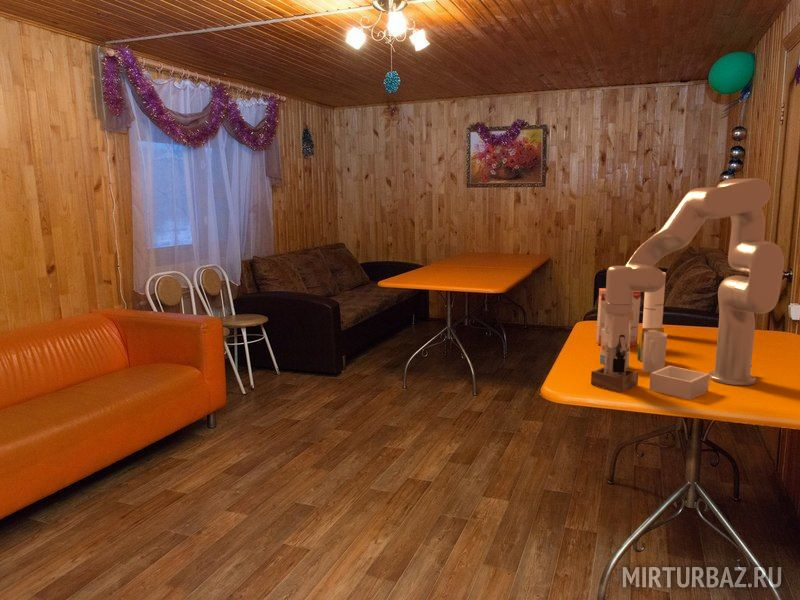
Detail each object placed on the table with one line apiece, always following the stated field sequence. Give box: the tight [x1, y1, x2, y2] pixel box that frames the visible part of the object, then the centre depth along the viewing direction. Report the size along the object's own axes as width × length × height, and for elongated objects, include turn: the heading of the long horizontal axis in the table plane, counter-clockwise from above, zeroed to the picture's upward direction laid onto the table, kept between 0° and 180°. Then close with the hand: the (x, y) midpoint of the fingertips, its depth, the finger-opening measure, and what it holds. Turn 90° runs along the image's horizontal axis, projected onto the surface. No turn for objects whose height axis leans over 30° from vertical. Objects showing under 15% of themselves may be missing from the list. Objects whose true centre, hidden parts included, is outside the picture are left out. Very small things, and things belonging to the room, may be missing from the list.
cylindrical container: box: [641, 271, 667, 332], centre depth 242 cm, size 7×7×25 cm
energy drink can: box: [603, 340, 627, 377], centre depth 180 cm, size 6×6×15 cm
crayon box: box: [637, 327, 665, 363], centre depth 206 cm, size 7×3×12 cm, turn 89°
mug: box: [642, 332, 668, 373], centre depth 193 cm, size 10×7×12 cm, turn 146°
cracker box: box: [595, 287, 642, 348], centre depth 227 cm, size 14×6×21 cm, turn 81°
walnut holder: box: [590, 366, 639, 393], centre depth 181 cm, size 10×10×4 cm
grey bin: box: [648, 365, 710, 401], centre depth 175 cm, size 12×12×5 cm
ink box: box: [599, 323, 631, 369], centre depth 200 cm, size 8×5×15 cm, turn 25°
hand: (615, 368), depth 180 cm, fingers closed on energy drink can, 6 cm apart
